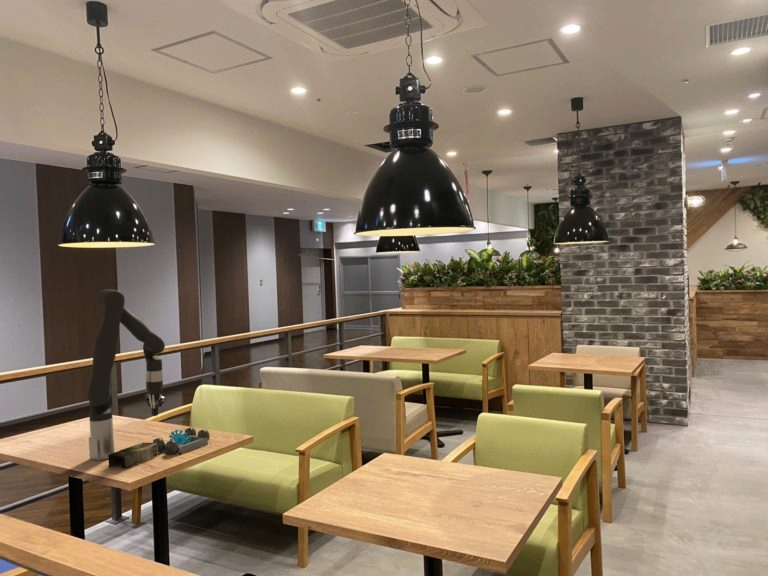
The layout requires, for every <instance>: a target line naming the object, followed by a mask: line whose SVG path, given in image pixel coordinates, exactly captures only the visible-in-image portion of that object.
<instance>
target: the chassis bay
mask: <svg viewBox="0 0 768 576" xmlns="http://www.w3.org/2000/svg"><path fill="white" fill-rule="evenodd" d="M185 432H186V433H187V435H186V436H189V435H191V438H190V439H189V440H190V443H187V444H184V445H180V446H178V445H179V444H177V442H176V441H175V440H174V439H173V440H171V441H170V440H168V441H167V442H166V443H165V440H164V439H163V438H161V437H158V438H154V439H153V441H152V443H156V444H158V451H159V453H160V452H165V451H167V452H166V453H168V455H170V454H172V455H175V454H176V453H182V454H184V453H183V452H185V453H186V451H187V452H189V450H190V451H193V450H194V449H197V448H200V446H201V447H203V446H205V444H206V445H208V444H209V440H210V437H211V436H210V432H209V431H208V430H207V429H206V428H204V429H201V430H198V432H197V431H196V429H195V428H194V427H192V426H191V427H187V428H186V429H185V430H184V433H185ZM184 436H185V435H184ZM202 445H203V446H202ZM192 449H193V450H192Z"/></svg>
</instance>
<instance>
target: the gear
mask: <svg viewBox="0 0 768 576" xmlns="http://www.w3.org/2000/svg"><path fill="white" fill-rule="evenodd" d="M183 432H184V433H183ZM184 435H185V436H184ZM186 435H187V433H186V432H185V431H183V430H182V429H180V430H178V429H175V430H173V431H171V433H170V435H169V436H168V438H170V439H169V441H171V440H175V441H176V442H177V444H178V446H182V445H185V444H187V443H190V440H189V439H190V438H191V435H189V436H186ZM184 443H185V444H184Z"/></svg>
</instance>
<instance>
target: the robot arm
mask: <svg viewBox="0 0 768 576" xmlns="http://www.w3.org/2000/svg"><path fill="white" fill-rule="evenodd" d="M96 302H97V304H98V306H99V307H100V308H102V309H104V316H103V321H102V325H101V326H100V328H99V330H98V332H97V333H96V336H95V340H94V345H93V353H92V355H93V356H92V373H91V379H90V383H89V387H88V391H87V394H86V395H87V399H88V402H89V416H88V417H89V433H90V434H89V435H90V436H89V437H88V450H89V452H88V453H89V454H88V455H89V460H94V461H102V460H108V459H109V457H108V455H110V454H112V453H115V452H116V451H115V440H114V439H115V437H114V423H113V422H114V421H113V420H114V419H113V392H112V387H111V383H110V382H111V375H112V374H111V373H112V369H113V367H114V364H115V360H116V355H117V350H118V349H117V348H118V339H119V333H120V325H121V324H122V325H123V326H124V327H125V328H126V329H127V330H128V332H130V334H132V336H133V337H134V338H135V339H136V340H138V342H141V343H143V344H142V350H143V355H144V359H145V362H146V364H145V365H146V368H145V369H146V372H145V373H146V374H145V390H146V391H147V393H146V395H143V398H144V400H145V402H146V404H147V406H148V407H150V408H151V416H153V417H157V416H158V415H159V408H160V407H162V406H163V404H164V402H165V401H166V396H163V392H162V390H163V388H164V380H163V379H164V375H163V374H164V373H163V361H162V359H161V357H159V356H158V354H160V353H162V352H163V351H164V350H165V348H166V347H165V346H166V345H165V342H164V340H163V339H162V338H161V337H160V336H159V335H157V334H156V333H154V331H151V330H150V329H149V327H148V326H147V325H146V324H145V323H144V322H143V320H141V319H140V318H138V317H137V316H136V315H134V314H133V313H132V312H130V311H129V310H128V309H127V308H126V307H125V295H124V294H123V292H121V291H120V290H117V289H116V290H115V289H110V288H109V289H108V288H105V289H102V290H101V291H99V292H98V294H97V296H96Z"/></svg>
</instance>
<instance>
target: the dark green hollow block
mask: <svg viewBox="0 0 768 576" xmlns="http://www.w3.org/2000/svg"><path fill="white" fill-rule="evenodd" d="M114 452H115V453H112V454H110V455H108V457H109V458H107V461H108V468H111V467H113V466H115V464H116V465H117V464H120V462H121V468H123V469H126V468H129V466H130V467H131V466H132V467H134V466H135V465H138V463H139V464H141V463H143V461H144V462H145V460H146V461H148V460H150V459H149V458H151V459H153V458H155V457H158V456H159V453H160V452H159V451H158V444H156V443H153V442H144V441H143V442H140V443H138V444H135V445H131V446H129V447H126V448H122V449H120V450H118V451H114ZM157 455H158V456H157ZM154 456H155V457H154ZM152 457H153V458H152ZM147 459H148V460H147ZM140 462H141V463H140ZM110 466H111V467H110Z"/></svg>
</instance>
